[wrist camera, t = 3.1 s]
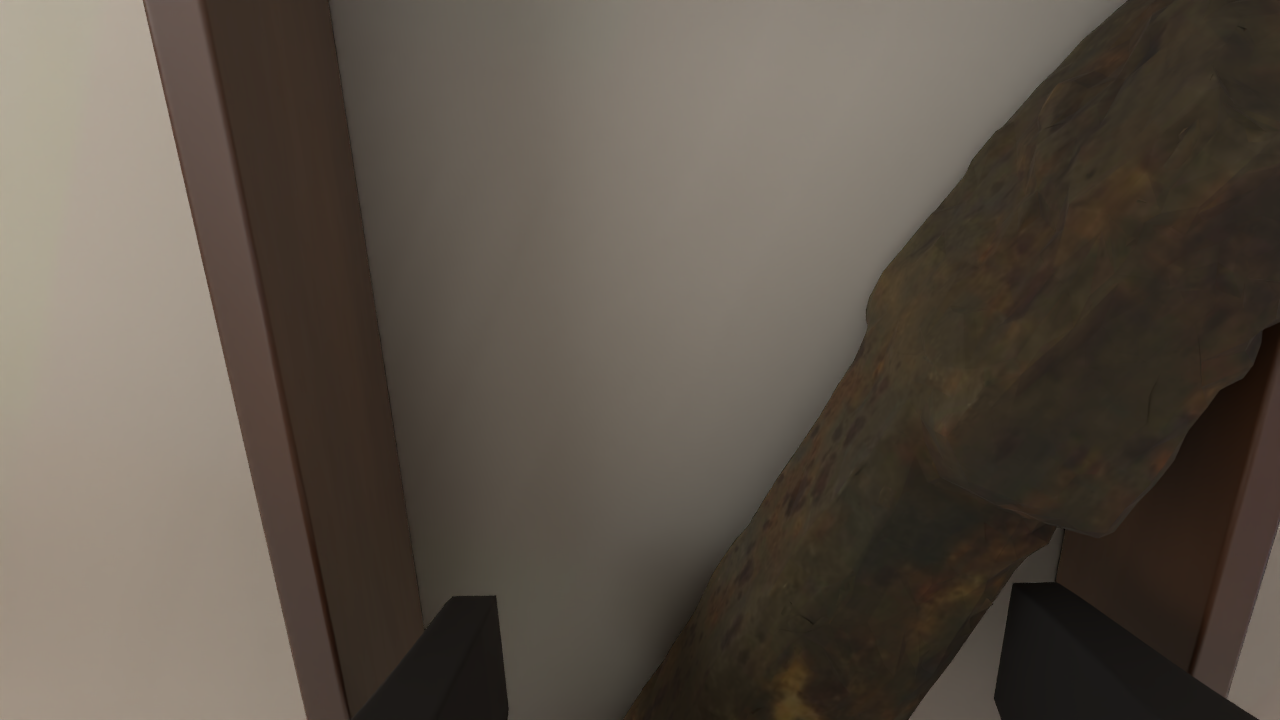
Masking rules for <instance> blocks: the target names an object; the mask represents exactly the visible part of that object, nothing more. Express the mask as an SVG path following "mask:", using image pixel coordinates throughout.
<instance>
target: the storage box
mask: <svg viewBox="0 0 1280 720" xmlns="http://www.w3.org/2000/svg"><path fill="white" fill-rule="evenodd" d="M143 3H144V7H145V12H146V16H147V21H148V25H149V29H150V34H151V38H152V43H153V47H154V51H155V56H156V60H157V64H158V69H159V73H160V78H161V82H162V86H163V91H164V95H165V100H166V104H167V108H168V113H169V117H170V121H171V126H172V130H173V135H174V139H175V143H176V148H177V152H178V156H179V161H180V165H181V170H182V174H183V178H184V183H185V187H186V192H187V196H188V200H189V205H190V209H191V213H192V218H193V222H194V227H195V231H196V235H197V240H198V244H199V249H200V253H201V257H202V262H203V266H204V270H205V275H206V279H207V284H208V288H209V292H210V297H211V301H212V305H213V310H214V314H215V319H216V323H217V327H218V332H219V336H220V341H221V345H222V349H223V354H224V358H225V362H226V367H227V371H228V376H229V380H230V384H231V389H232V393H233V398H234V402H235V406H236V411H237V415H238V419H239V424H240V428H241V433H242V437H243V441H244V446H245V450H246V454H247V459H248V463H249V468H250V472H251V476H252V481H253V485H254V490H255V494H256V498H257V503H258V507H259V511H260V516H261V520H262V525H263V529H264V533H265V538H266V542H267V547H268V551H269V555H270V560H271V564H272V568H273V573H274V577H275V582H276V586H277V590H278V595H279V599H280V603H281V608H282V612H283V617H284V621H285V625H286V630H287V634H288V639H289V643H290V647H291V652H292V656H293V660H294V665H295V669H296V674H297V678H298V682H299V687H300V691H301V696H302V700H303V704H304V709H305V713H306V717H307V720H350V719H351V718H352V717H353V716H354V715H355V714H356V713H357V712H358V711H359V710H360V709H361V707H362V706H363V705H364V704H365V703H366V702H367V700H368V699H369V698H370V697H371V696H372V695H373V693H374V692H375V691H376V690H377V689H378V688H379V686H380V685H381V684H382V683H383V682H384V680H385V679H386V678H387V677H388V676H389V675H390V673H391V672H392V671H393V670H394V669H395V667H396V666H397V665H398V664H399V663H400V661H401V660H402V659H403V658H404V656H405V655H406V654H407V653H408V651H409V650H410V649H411V648H412V646H413V645H414V644H415V643H416V641H417V640H418V639H419V637H420V636H421V635H422V634H423V632H424V625H423V618H422V612H421V605H420V599H419V592H418V586H417V579H416V572H415V566H414V559H413V553H412V546H411V540H410V533H409V527H408V520H407V513H406V507H405V500H404V494H403V487H402V481H401V474H400V468H399V461H398V455H397V448H396V441H395V435H394V428H393V422H392V415H391V409H390V402H389V396H388V389H387V383H386V376H385V369H384V363H383V356H382V350H381V343H380V337H379V330H378V324H377V317H376V311H375V304H374V297H373V291H372V284H371V278H370V271H369V265H368V258H367V252H366V245H365V239H364V232H363V225H362V219H361V212H360V206H359V199H358V193H357V186H356V180H355V173H354V167H353V160H352V153H351V147H350V140H349V134H348V127H347V121H346V114H345V108H344V101H343V95H342V88H341V81H340V75H339V68H338V62H337V55H336V49H335V42H334V36H333V29H332V23H331V16H330V9H329V3H328V0H143ZM1279 522H1280V322H1279V323H1277V324H1275V325H1273V326H1270V327H1268V328H1266V329H1264V330H1263V332H1262V341H1261V345H1260V348H1259V351H1258V354H1257V356H1256V359H1255V362H1254V365H1253V366H1252V368H1251V369H1250V370H1249V371H1248V373H1247V374H1246V375H1245V376H1244V378H1243V379H1241V380H1239V381H1237V382H1235V383H1233V384H1231V385H1229V386H1227V387H1225V388H1223V389H1221V390H1219V392H1218V393H1217V395H1216V396H1215V397H1214V399H1213V400H1212V402H1211V403H1210V404H1209V406H1208V407H1207V408H1206V410H1205V411H1204V412H1203V413H1202V415H1201V416H1200V417H1199V418H1198V419H1197V421H1196V422H1195V423H1194V424H1193V426H1192V427H1191V428H1190V429H1189V431H1188V432H1187V434H1186V436H1185V438H1184V440H1183V442H1182V445H1181V447H1180V449H1179V451H1178V453H1177V456H1176V458H1175V460H1174V461H1173V463H1172V464H1171V465H1170V467H1169V468H1168V469H1167V470H1166V472H1165V473H1164V474H1163V475H1162V477H1161V478H1160V479H1159V480H1158V482H1157V483H1156V484H1155V486H1154V487H1153V488H1152V489H1151V490H1150V491H1149V492H1148V493H1147V494H1146V495H1145V496H1144V497H1143V498H1142V499H1141V500H1140V501H1139V502H1138V503H1137V504H1136V505H1135V507H1134V508H1133V509H1132V510H1131V512H1130V513H1129V514H1128V515H1127V517H1126V518H1125V519H1124V520H1123V522H1122V523H1121V524H1120V525H1119V526H1118V528H1117V529H1116V530H1115V531H1114V532H1113V533H1111V534H1108V535H1106V536H1103V537H1101V538H1094V537H1091V536H1088V535H1084V534H1081V533H1077V532H1074V531H1070V530H1067V529H1065V534H1064V540H1063V545H1062V550H1061V556H1060V561H1059V566H1058V572H1057V577H1056V582H1058V583H1059V584H1061V585H1062V586H1064V587H1065V588H1067V589H1069V590H1070V591H1072V592H1073V593H1075V594H1076V595H1078V596H1079V597H1081V598H1082V599H1083V600H1085V601H1086V602H1088V603H1089V604H1091V605H1092V606H1094V607H1095V608H1096V609H1098V610H1099V611H1101V612H1102V613H1103V614H1105V615H1106V616H1108V617H1109V618H1111V619H1112V620H1113V621H1115V622H1116V623H1118V624H1119V625H1120V626H1122V627H1123V628H1125V629H1126V630H1127V631H1129V632H1130V633H1132V634H1133V635H1134V636H1136V637H1137V638H1139V639H1140V640H1141V641H1143V642H1144V643H1146V644H1147V645H1149V646H1150V647H1151V648H1153V649H1154V650H1156V651H1157V652H1158V653H1160V654H1161V655H1163V656H1164V657H1166V658H1167V659H1168V660H1170V661H1171V662H1173V663H1174V664H1176V665H1177V666H1179V667H1180V668H1181V669H1183V670H1184V671H1186V672H1187V673H1189V674H1190V675H1192V676H1193V677H1195V678H1196V679H1197V680H1199V681H1200V682H1202V683H1203V684H1205V685H1206V686H1208V687H1209V688H1211V689H1212V690H1214V691H1215V692H1217V693H1218V694H1220V695H1221V696H1223V697H1224V698H1226V699H1227V696H1228V693H1229V690H1230V686H1231V683H1232V680H1233V676H1234V673H1235V670H1236V666H1237V663H1238V659H1239V656H1240V653H1241V649H1242V646H1243V643H1244V639H1245V636H1246V633H1247V629H1248V626H1249V623H1250V619H1251V616H1252V612H1253V609H1254V606H1255V602H1256V599H1257V596H1258V592H1259V589H1260V586H1261V582H1262V579H1263V576H1264V572H1265V569H1266V565H1267V562H1268V559H1269V555H1270V552H1271V549H1272V545H1273V542H1274V539H1275V535H1276V532H1277V529H1278V525H1279Z"/></svg>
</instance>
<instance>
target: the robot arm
mask: <svg viewBox="0 0 1280 720" xmlns="http://www.w3.org/2000/svg"><path fill="white" fill-rule="evenodd" d="M994 700H995V703H996V706H997V709H998V711H999V714H1000V717H1001V720H1259V719H1257V718H1255V717H1254V716H1252V715H1251V714H1249V713H1247V712H1246V711H1244V710H1243V709H1241V708H1240V707H1238V706H1236V705H1235V704H1233V703H1232V702H1230V701H1229V700H1227V699H1226V698H1224V697H1223V696H1221V695H1220V694H1218V693H1217V692H1215V691H1214V690H1212V689H1211V688H1209V687H1208V686H1206V685H1205V684H1203V683H1202V682H1200V681H1199V680H1197V679H1196V678H1195V677H1193V676H1192V675H1190V674H1189V673H1187V672H1186V671H1184V670H1183V669H1181V668H1180V667H1179V666H1177V665H1176V664H1174V663H1173V662H1171V661H1170V660H1168V659H1167V658H1166V657H1164V656H1163V655H1161V654H1160V653H1158V652H1157V651H1156V650H1154V649H1153V648H1151V647H1150V646H1149V645H1147V644H1146V643H1144V642H1143V641H1141V640H1140V639H1139V638H1137V637H1136V636H1134V635H1133V634H1132V633H1130V632H1129V631H1127V630H1126V629H1125V628H1123V627H1122V626H1120V625H1119V624H1118V623H1116V622H1115V621H1113V620H1112V619H1111V618H1109V617H1108V616H1106V615H1105V614H1103V613H1102V612H1101V611H1099V610H1098V609H1096V608H1095V607H1094V606H1092V605H1091V604H1089V603H1088V602H1086V601H1085V600H1083V599H1082V598H1081V597H1079V596H1078V595H1076V594H1075V593H1073V592H1072V591H1070V590H1069V589H1067V588H1065V587H1064V586H1062V585H1061V584H1059V583H1058V582H1043V583H1013V585H1012V591H1011V597H1010V603H1009V609H1008V616H1007V622H1006V628H1005V634H1004V640H1003V646H1002V652H1001V658H1000V664H999V670H998V676H997V682H996V688H995V694H994ZM508 711H509V707H508V698H507V689H506V680H505V671H504V662H503V653H502V644H501V635H500V626H499V617H498V608H497V600H496V595H495V596H453V597H452V598H451V599H450V600H449V601H448V602H447V603H446V604H445V605H444V606H443V608H442V609H441V610H440V611H439V613H438V614H437V615H436V617H435V618H434V619H433V621H432V622H431V623H430V625H429V626H428V627H427V628H426V630H425V631H424V632H423V634H422V635H421V636H420V637H419V639H418V640H417V641H416V643H415V644H414V645H413V646H412V648H411V649H410V650H409V651H408V653H407V654H406V655H405V656H404V658H403V659H402V660H401V661H400V663H399V664H398V665H397V666H396V667H395V669H394V670H393V671H392V672H391V673H390V675H389V676H388V677H387V678H386V679H385V680H384V682H383V683H382V684H381V685H380V686H379V688H378V689H377V690H376V691H375V692H374V693H373V695H372V696H371V697H370V698H369V699H368V700H367V702H366V703H365V704H364V705H363V706H362V707H361V709H360V710H359V711H358V712H357V713H356V714H355V715H354V716H353V717H352V718H351V719H350V720H508Z"/></svg>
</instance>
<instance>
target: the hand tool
mask: <svg viewBox="0 0 1280 720" xmlns="http://www.w3.org/2000/svg"><path fill="white" fill-rule="evenodd" d="M866 321H867V324H868V328H867V331H866V335H865V337H864V339H863V342H862V344H861V346H860V349H859V351H858V353H857V355H856V358H855V360H854V362H853V363H852V365H851V366H850V368H849V369H848V371H847V372H846V374H845V375H844V377H843V378H842V380H841V381H840V383H839V384H838V386H837V388H836V389H835V391H834V393H833V394H832V396H831V398H830V400H829V401H828V403H827V405H826V406H825V408H824V410H823V412H822V413H821V415H820V417H819V418H818V420H817V421H816V423H815V424H814V426H813V427H812V429H811V430H810V432H809V433H808V435H807V436H806V438H805V439H804V440H803V442H802V443H801V445H800V446H799V448H798V449H797V451H796V452H795V454H794V455H793V457H792V458H791V460H790V461H789V462H788V464H787V465H786V467H785V468H784V470H783V471H782V472H781V474H780V475H779V477H778V479H777V480H776V482H775V483H774V485H773V486H772V488H771V490H770V491H769V493H768V494H767V496H766V497H765V499H764V501H763V502H762V504H761V506H760V507H759V509H758V511H757V512H756V514H755V516H754V517H753V519H752V521H751V522H750V524H749V526H748V527H747V528H746V529H745V530H744V531H743V532H742V533H741V534H740V536H739V537H738V538H737V539H736V540H735V541H734V543H733V544H732V546H731V547H730V548H729V550H728V551H727V553H726V554H725V556H724V557H723V559H722V560H721V562H720V563H719V565H718V566H717V568H716V569H715V571H714V573H713V574H712V576H711V578H710V580H709V582H708V585H707V587H706V589H705V591H704V593H703V595H702V597H701V600H700V602H699V604H698V606H697V608H696V610H695V612H694V614H693V615H692V617H691V618H690V620H689V621H688V623H687V624H686V626H685V627H684V629H683V630H682V632H681V633H680V635H679V636H678V638H677V639H676V641H675V643H674V644H673V646H672V647H671V649H670V651H669V653H668V654H667V656H666V658H665V660H664V661H663V662H662V664H661V665H660V666H659V668H658V669H657V670H656V672H655V673H654V674H653V676H652V677H651V678H650V680H649V681H648V682H647V684H646V685H645V686H644V688H643V689H642V692H641V693H640V694H639V696H638V697H637V699H636V700H635V702H634V703H633V705H632V706H631V708H630V709H629V711H628V713H627V714H626V716H625V717H624V719H623V720H908V719H909V718H910V716H911V715H912V713H913V712H914V711H915V709H916V708H917V706H918V705H919V703H920V702H921V700H922V699H923V698H924V696H925V695H926V694H927V692H928V691H929V690H930V688H931V687H932V686H933V685H934V683H935V682H936V681H937V680H938V678H939V677H940V676H941V674H942V673H943V672H944V671H945V669H946V668H947V667H948V665H949V664H950V663H951V661H952V660H953V659H954V657H955V656H956V654H957V653H958V651H959V650H960V648H961V647H962V646H963V644H964V643H965V641H966V640H967V638H968V637H969V635H970V634H971V633H972V631H973V630H974V628H975V627H976V625H977V624H978V622H979V621H980V620H981V618H982V617H983V615H984V614H985V613H986V611H987V610H988V609H989V607H990V606H991V605H993V601H994V600H995V598H996V597H997V596H998V594H999V593H1000V591H1001V590H1002V588H1003V587H1004V585H1005V584H1006V583H1007V581H1008V580H1009V578H1010V577H1011V575H1012V574H1013V572H1014V571H1015V570H1016V569H1017V568H1018V566H1019V565H1020V564H1021V563H1022V562H1023V561H1024V560H1025V559H1026V558H1027V557H1028V556H1029V555H1031V554H1032V553H1034V552H1035V551H1037V550H1039V549H1040V548H1042V547H1044V546H1045V545H1047V544H1048V543H1049V541H1050V539H1051V537H1052V535H1053V533H1054V531H1055V529H1056V527H1060V528H1064V529H1067V530H1070V531H1074V532H1077V533H1081V534H1084V535H1088V536H1091V537H1094V538H1101V537H1103V536H1106V535H1108V534H1111V533H1113V532H1114V531H1115V530H1116V529H1117V528H1118V526H1119V525H1120V524H1121V523H1122V522H1123V520H1124V519H1125V518H1126V517H1127V515H1128V514H1129V513H1130V512H1131V510H1132V509H1133V508H1134V507H1135V505H1136V504H1137V503H1138V502H1139V501H1140V500H1141V499H1142V498H1143V497H1144V496H1145V495H1146V494H1147V493H1148V492H1149V491H1150V490H1151V489H1152V488H1153V487H1154V486H1155V484H1156V483H1157V482H1158V480H1159V479H1160V478H1161V477H1162V475H1163V474H1164V473H1165V472H1166V470H1167V469H1168V468H1169V467H1170V465H1171V464H1172V463H1173V461H1174V460H1175V458H1176V456H1177V453H1178V451H1179V449H1180V447H1181V445H1182V442H1183V440H1184V438H1185V436H1186V434H1187V432H1188V431H1189V429H1190V428H1191V427H1192V426H1193V424H1194V423H1195V422H1196V421H1197V419H1198V418H1199V417H1200V416H1201V415H1202V413H1203V412H1204V411H1205V410H1206V408H1207V407H1208V406H1209V404H1210V403H1211V402H1212V400H1213V399H1214V397H1215V396H1216V395H1217V393H1218V392H1219V390H1221V389H1223V388H1225V387H1227V386H1229V385H1231V384H1233V383H1235V382H1237V381H1239V380H1241V379H1243V378H1244V376H1245V375H1246V374H1247V373H1248V371H1249V370H1250V369H1251V368H1252V366H1253V365H1254V362H1255V359H1256V356H1257V354H1258V351H1259V348H1260V345H1261V341H1262V332H1263V330H1264V329H1266V328H1268V327H1270V326H1273V325H1275V324H1277V323H1279V322H1280V0H1128V1H1127V2H1126V3H1125V4H1123V5H1122V6H1121V7H1120V8H1118V9H1117V10H1116V11H1115V12H1114V13H1113V14H1112V15H1111V16H1110V17H1108V18H1107V19H1106V20H1105V21H1104V22H1103V23H1102V24H1101V25H1100V26H1099V27H1097V28H1096V29H1095V30H1094V31H1093V32H1092V33H1090V34H1089V35H1088V36H1087V37H1086V38H1084V39H1083V40H1082V41H1081V42H1080V44H1079V45H1078V46H1077V47H1076V48H1075V49H1074V50H1073V51H1072V53H1071V54H1070V55H1069V56H1068V57H1067V58H1066V59H1065V60H1064V62H1063V63H1062V64H1061V65H1060V66H1059V67H1058V68H1057V69H1056V71H1054V72H1053V73H1052V74H1051V75H1050V76H1049V77H1048V78H1047V79H1046V80H1045V81H1043V82H1042V83H1041V84H1040V85H1039V87H1038V88H1037V89H1036V90H1035V91H1034V92H1033V93H1032V95H1031V96H1030V97H1029V98H1028V99H1027V100H1026V101H1025V102H1024V104H1023V105H1022V106H1021V107H1020V108H1019V109H1018V110H1017V112H1016V113H1015V114H1014V115H1013V116H1012V117H1011V118H1010V119H1009V121H1008V122H1007V123H1006V124H1005V125H1004V126H1003V127H1002V128H1001V129H999V130H998V131H996V132H995V133H994V135H993V136H992V137H991V138H990V139H989V141H988V142H987V143H986V144H985V145H984V147H983V148H982V149H981V150H980V151H979V153H978V154H977V155H976V156H975V157H974V159H973V160H972V162H971V164H970V166H969V168H968V170H967V172H966V174H965V176H964V177H963V178H962V180H961V181H960V182H959V183H958V184H957V186H956V187H955V188H954V189H953V190H952V192H951V193H950V194H949V195H948V196H947V198H946V199H945V200H944V201H943V202H942V204H941V205H940V206H939V207H938V208H937V210H936V211H934V212H933V213H932V214H931V215H930V216H929V218H928V219H927V220H926V221H925V222H924V224H923V225H922V226H921V227H920V228H919V230H918V231H917V232H916V233H915V235H914V236H913V237H912V238H911V239H910V241H909V242H908V243H907V244H906V245H905V247H904V248H903V249H902V250H901V252H900V253H899V254H898V255H897V256H896V257H895V258H894V260H893V261H892V262H891V263H890V264H889V265H888V266H887V268H886V269H885V270H884V271H883V273H882V275H881V277H880V279H879V280H878V282H877V284H876V286H875V288H874V290H873V292H872V294H871V295H870V297H869V301H868V305H867V309H866Z"/></svg>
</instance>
